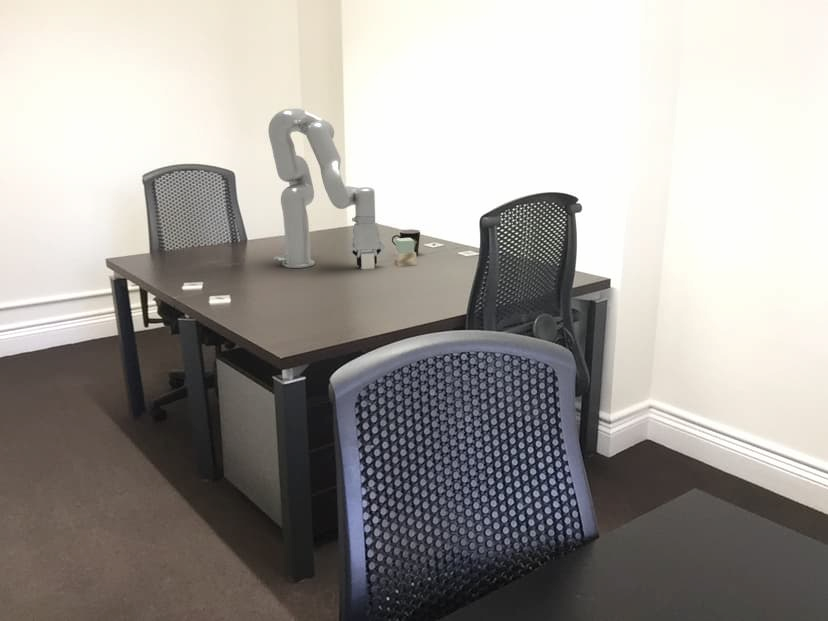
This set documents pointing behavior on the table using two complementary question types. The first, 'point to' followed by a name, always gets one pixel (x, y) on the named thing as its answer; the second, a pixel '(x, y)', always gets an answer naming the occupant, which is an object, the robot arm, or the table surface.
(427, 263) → the table surface
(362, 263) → the top block
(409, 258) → the tower base
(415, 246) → the coffee mug
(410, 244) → the tower mid
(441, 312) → the table surface
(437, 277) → the table surface
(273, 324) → the table surface
